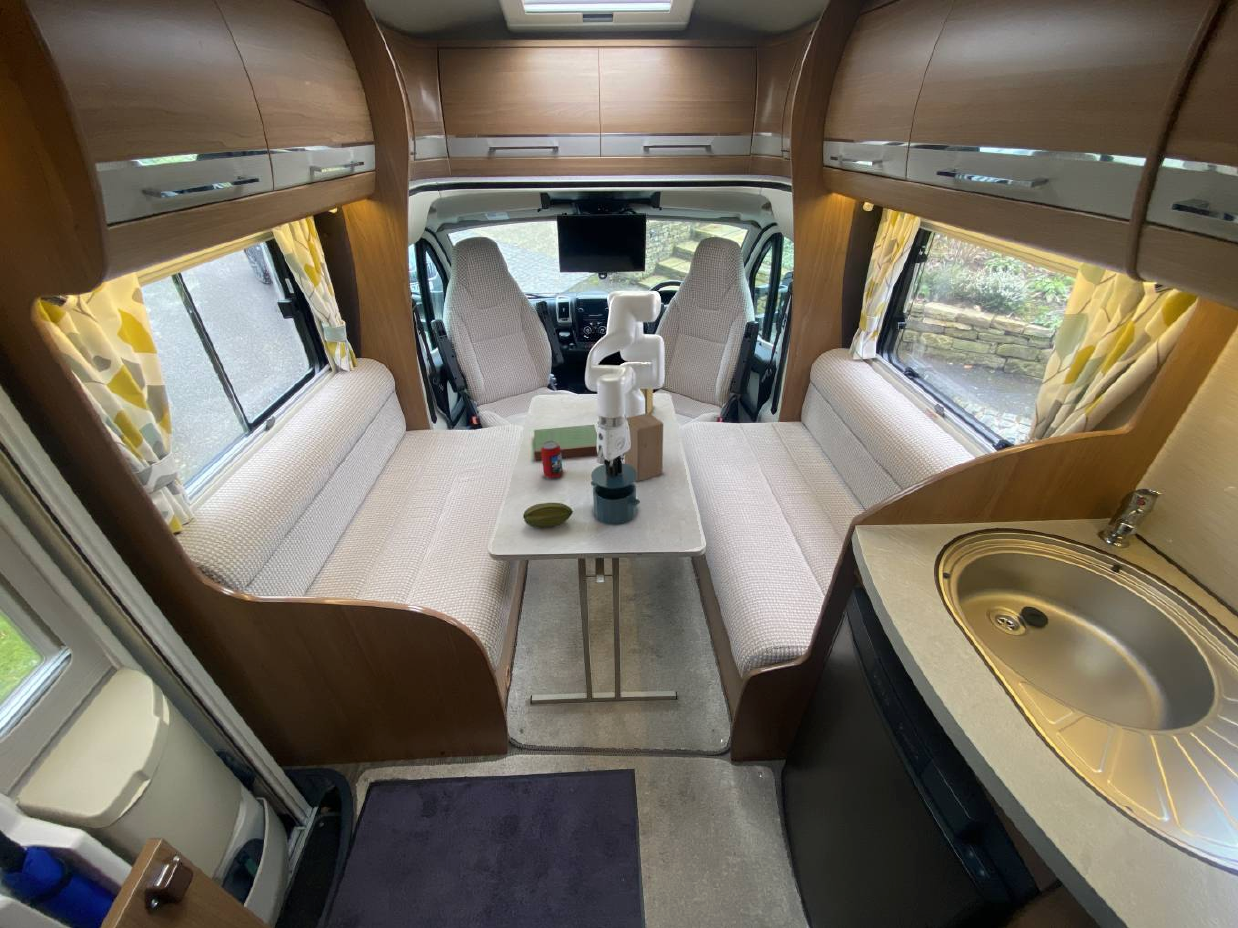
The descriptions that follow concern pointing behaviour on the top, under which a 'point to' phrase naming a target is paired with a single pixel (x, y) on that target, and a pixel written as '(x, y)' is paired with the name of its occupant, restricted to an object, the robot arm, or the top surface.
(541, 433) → the book
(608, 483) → the pot lid
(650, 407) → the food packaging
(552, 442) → the beverage can
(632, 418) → the wooden block
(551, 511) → the fruit
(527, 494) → the top surface
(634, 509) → the pot
